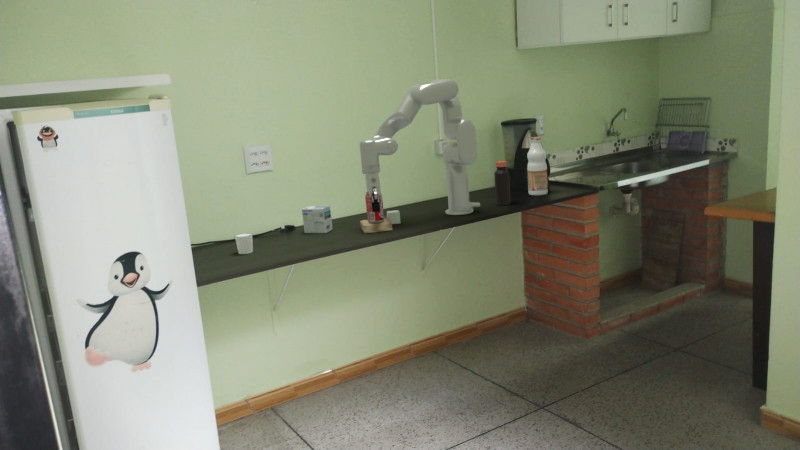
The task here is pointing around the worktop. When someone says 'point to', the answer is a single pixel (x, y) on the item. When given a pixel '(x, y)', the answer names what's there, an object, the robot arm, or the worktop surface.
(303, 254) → the worktop surface
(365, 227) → the slab
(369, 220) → the soda can
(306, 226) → the light bulb box
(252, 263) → the worktop surface
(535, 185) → the fruit juice
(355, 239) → the worktop surface
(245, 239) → the white cup
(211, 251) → the worktop surface
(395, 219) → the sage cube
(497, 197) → the bottle
